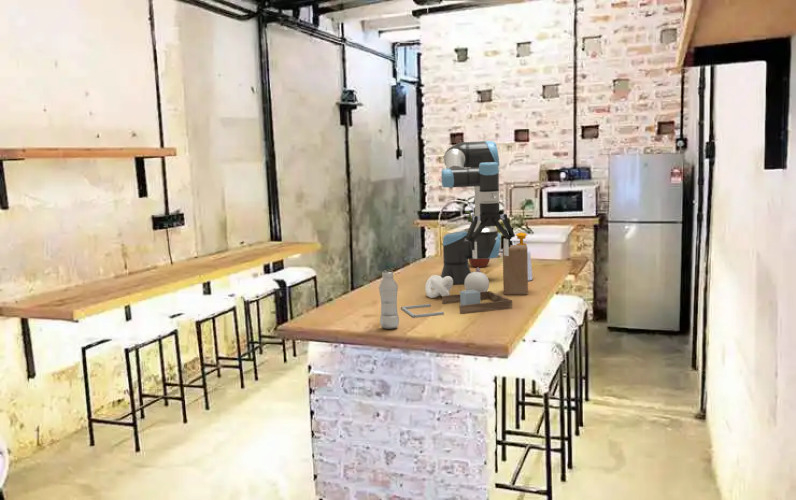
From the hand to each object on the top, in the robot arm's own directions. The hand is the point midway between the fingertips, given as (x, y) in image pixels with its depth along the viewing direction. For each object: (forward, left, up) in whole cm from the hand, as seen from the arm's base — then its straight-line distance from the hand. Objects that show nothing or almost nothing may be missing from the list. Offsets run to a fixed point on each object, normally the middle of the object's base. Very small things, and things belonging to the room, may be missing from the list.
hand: (490, 257), depth 256 cm
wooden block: (-15, +18, -19) cm, 30 cm away
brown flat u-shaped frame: (0, -7, -19) cm, 20 cm away
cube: (0, -9, -19) cm, 21 cm away
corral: (0, -29, -19) cm, 35 cm away
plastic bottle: (+19, -47, -19) cm, 54 cm away
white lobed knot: (-21, -14, -19) cm, 32 cm away
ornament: (-17, +1, -19) cm, 26 cm away
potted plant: (-86, +29, -19) cm, 93 cm away
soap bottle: (-43, +35, -19) cm, 59 cm away
